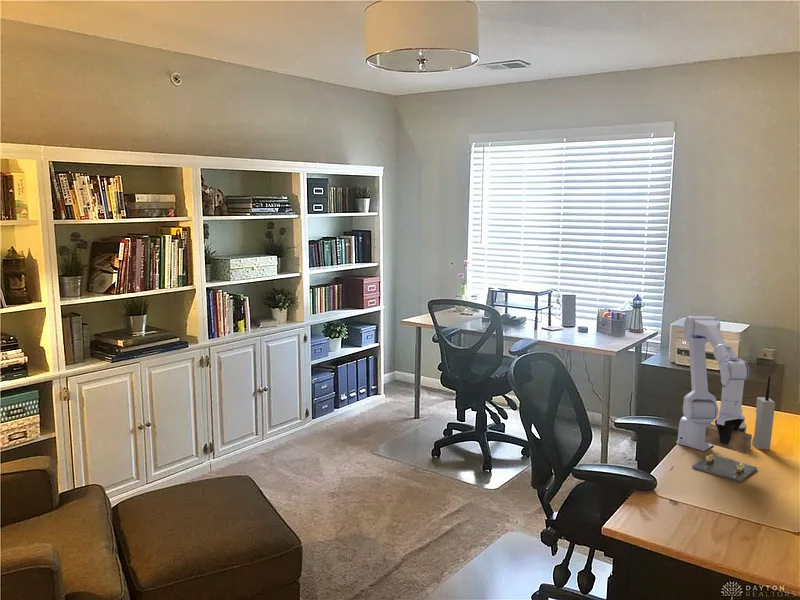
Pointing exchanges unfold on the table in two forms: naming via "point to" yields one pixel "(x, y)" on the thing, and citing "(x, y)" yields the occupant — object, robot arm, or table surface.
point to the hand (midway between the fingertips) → (727, 441)
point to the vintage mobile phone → (764, 421)
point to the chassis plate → (724, 468)
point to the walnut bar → (737, 439)
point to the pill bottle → (742, 427)
